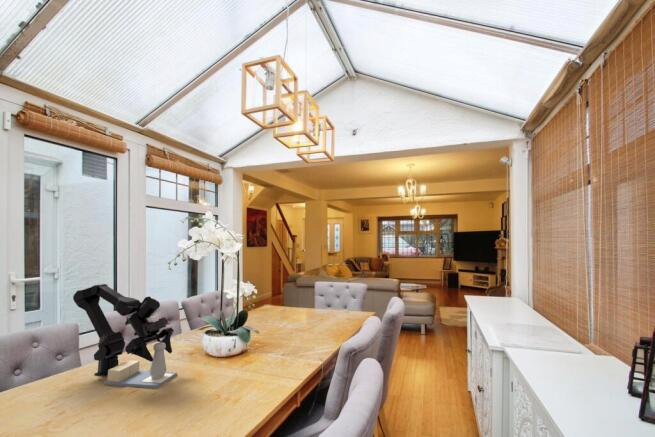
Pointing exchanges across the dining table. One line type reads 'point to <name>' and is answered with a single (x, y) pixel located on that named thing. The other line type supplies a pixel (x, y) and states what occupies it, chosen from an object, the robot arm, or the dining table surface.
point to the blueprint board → (135, 376)
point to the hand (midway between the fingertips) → (162, 356)
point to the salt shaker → (158, 362)
